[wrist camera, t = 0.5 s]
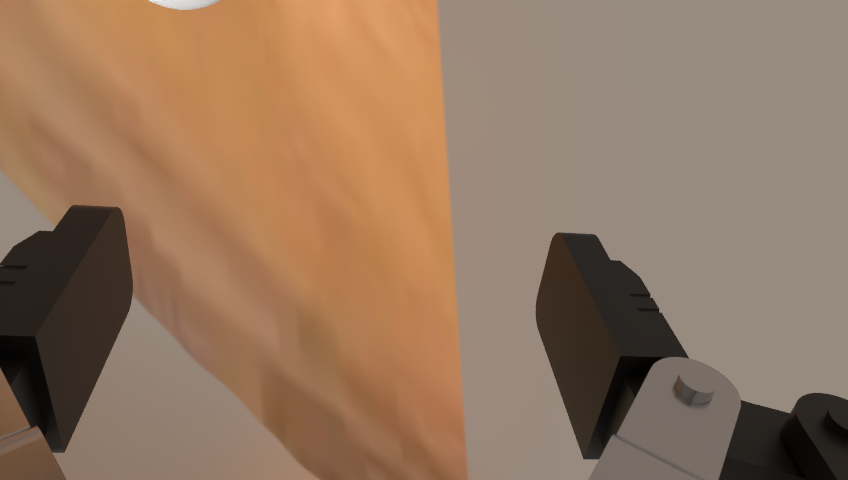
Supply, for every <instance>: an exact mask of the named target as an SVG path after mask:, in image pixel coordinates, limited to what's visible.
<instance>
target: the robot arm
mask: <svg viewBox="0 0 848 480" xmlns="http://www.w3.org/2000/svg"><path fill="white" fill-rule="evenodd" d="M132 292H133V279H132V271H131V264H130V257H129V250H128V243H127V236H126V229H125V222H124V217H123V213H122V211H121V209H120V208H118V207H104V206H86V205H73V206H71V207H70V208H69V210H68V211H67V212H66V214H65V215H64V217H63V218H62V219H61V221H60V222H59V224H58V225H57V226H56V228H55V229H54V230H53V231H38V232H37V233H35V234H33V235H32V236H30V237H28V238H27V239H25V240H23V241H22V242H20V243H18V244H17V245H15V246H14V247H13V248H12V249H11V251H10V252H9V253H8V254H7V256H6V257H5V258H4V259H3V261H2V262H1V263H0V480H66V478H65V476H64V474H63V472H62V470H61V468H60V466H59V464H58V463H57V461H56V459H55V457H54V455H53V453H52V452H54V453H59V452H60V453H64V452H65V450H66V448H67V446H68V443H69V441H70V439H71V437H72V434H73V432H74V430H75V428H76V426H77V423H78V421H79V419H80V417H81V415H82V413H83V411H84V408H85V406H86V404H87V402H88V400H89V397H90V395H91V393H92V391H93V389H94V387H95V384H96V382H97V380H98V378H99V376H100V373H101V371H102V369H103V367H104V365H105V362H106V360H107V358H108V356H109V354H110V351H111V349H112V347H113V345H114V343H115V341H116V338H117V336H118V334H119V332H120V330H121V327H122V325H123V323H124V321H125V319H126V316H127V314H128V312H129V309H130V305H131V300H132ZM536 321H537V327H538V330H539V333H540V336H541V339H542V342H543V345H544V347H545V350H546V353H547V356H548V359H549V362H550V364H551V367H552V370H553V373H554V376H555V379H556V381H557V384H558V387H559V390H560V393H561V396H562V399H563V402H564V405H565V407H566V410H567V413H568V416H569V419H570V421H571V425H572V427H573V430H574V433H575V436H576V439H577V441H578V445H579V448H580V450H581V453H582V456H583V459H599V461H598V463H597V465H596V467H595V468H594V470H593V472H592V474H591V476H590V478H589V480H848V400H846V399H843V398H840V397H837V396H834V395H830V394H823V393H812V394H807V395H804V396H802V397H801V398H800V399H799V400H798V401H797V403H796V404H795V406H794V408H793V410H792V411H791V413H786V412H783V411H779V410H775V409H771V408H767V407H763V406H760V405H755V404H752V403H748V402H745V401H742V400H741V399H740V396H739V393H738V391H737V389H736V388H735V386H734V385H733V384H732V383H731V382H730V381H729V380H728V379H727V378H726V377H725V376H724V375H723V374H721V373H720V372H718V371H717V370H715V369H714V368H712V367H710V366H708V365H706V364H704V363H701V362H699V361H696V360H692V359H689V357H688V356H687V354H686V352H685V351H684V349H683V348H682V346H681V344H680V343H679V341H678V339H677V337H676V336H675V334H674V333H673V331H672V329H671V328H670V326H669V324H668V323H667V321H666V320H665V318H664V316H663V315H662V313H659V308H658V306H657V305H656V303H655V301H654V300H653V298H650V293H649V291H648V290H647V288H646V286H645V285H644V283H643V281H642V280H641V278H640V277H639V276H638V275H637V274H636V273H634V272H633V271H632V270H631V269H629V268H628V267H627V266H626V265H625V264H623V263H622V262H621V261H614V260H610V258H609V257H608V255H607V253H606V251H605V250H604V248H603V246H602V244H601V242H600V241H599V239H598V237H597V236H596V235H594V234H576V233H556V234H555V235H554V236H553V238H552V241H551V244H550V248H549V252H548V256H547V260H546V264H545V268H544V272H543V275H542V280H541V283H540V287H539V292H538V296H537V301H536Z"/></svg>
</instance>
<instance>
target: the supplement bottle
mask: <svg viewBox="0 0 848 480" xmlns="http://www.w3.org/2000/svg"><path fill="white" fill-rule="evenodd" d="M149 1H151V2H153V3H155V4H158V5H160V6H164V7H167V8H172V9H179V10H192V9H199V8H203V7H207V6H210V5H212V4H214V3H217V2H218V1H220V0H149Z"/></svg>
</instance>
